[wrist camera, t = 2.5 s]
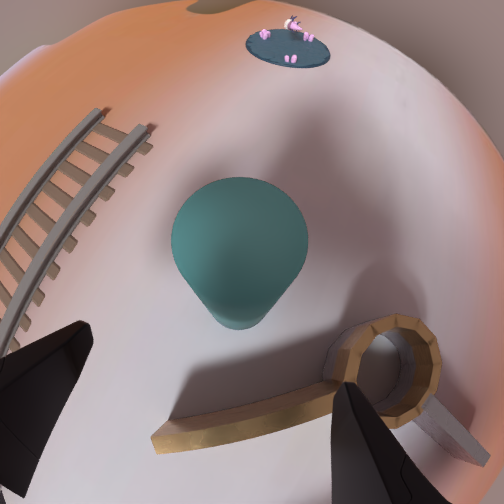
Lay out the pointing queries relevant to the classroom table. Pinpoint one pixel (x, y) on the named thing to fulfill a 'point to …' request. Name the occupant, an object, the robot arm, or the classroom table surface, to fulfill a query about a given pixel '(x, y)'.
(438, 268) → the classroom table surface
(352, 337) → the bronze hinge leaf
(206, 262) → the teal hinge pin
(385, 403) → the steel hinge leaf
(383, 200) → the classroom table surface
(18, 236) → the model train track
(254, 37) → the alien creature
